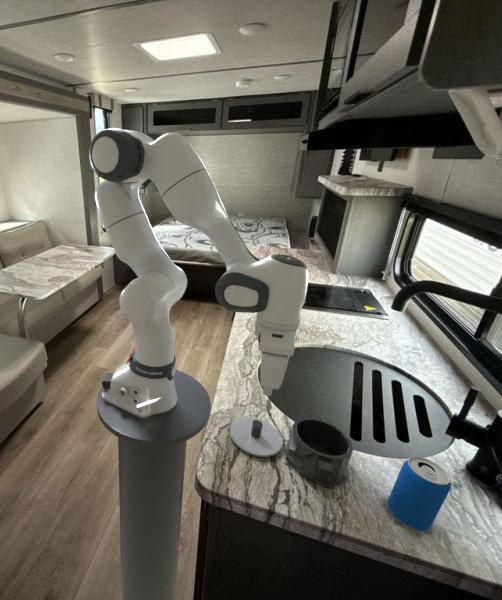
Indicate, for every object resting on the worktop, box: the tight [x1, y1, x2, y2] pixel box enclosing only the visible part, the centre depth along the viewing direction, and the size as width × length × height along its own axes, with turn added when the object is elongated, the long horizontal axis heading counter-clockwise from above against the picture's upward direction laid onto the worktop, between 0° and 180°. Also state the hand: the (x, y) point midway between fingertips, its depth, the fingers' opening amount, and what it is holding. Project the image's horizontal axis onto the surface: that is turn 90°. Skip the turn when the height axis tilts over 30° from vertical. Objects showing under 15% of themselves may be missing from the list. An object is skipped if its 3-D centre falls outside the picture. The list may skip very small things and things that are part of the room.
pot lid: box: [229, 416, 283, 458], centre depth 75 cm, size 12×12×5 cm
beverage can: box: [386, 455, 452, 532], centre depth 56 cm, size 6×6×12 cm
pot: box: [286, 412, 355, 486], centre depth 68 cm, size 12×17×7 cm
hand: (267, 381), depth 72 cm, fingers open, 8 cm apart
